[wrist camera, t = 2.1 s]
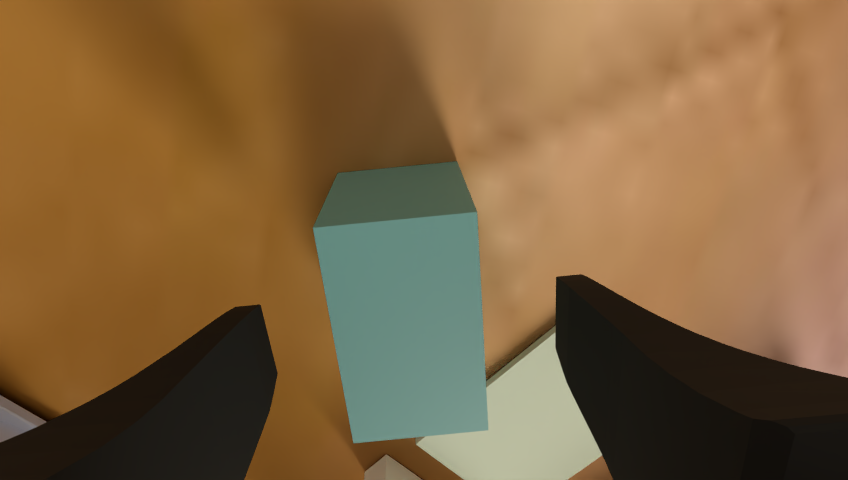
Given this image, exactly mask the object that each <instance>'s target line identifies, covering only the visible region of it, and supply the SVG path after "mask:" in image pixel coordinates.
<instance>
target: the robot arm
mask: <svg viewBox="0 0 848 480" xmlns="http://www.w3.org/2000/svg"><path fill="white" fill-rule="evenodd" d="M555 348H556V352H557V355H558V358H559V361H560V364H561V367H562V370H563V373H564V376H565V379H566V382H567V384H568V386H569V388H570V391H571V393H572V395H573V397H574V399H575V401H576V403H577V405H578V407H579V409H580V411H581V413H582V415H583V417H584V419H585V421H586V423H587V425H588V427H589V429H590V431H591V433H592V435H593V437H594V439H595V441H596V443H597V445H598V447H599V449H600V451H601V453H602V456H603V458H604V460H605V462H606V464H607V466H608V469H609V471H610V473H611V475H612V478H613V480H848V378H846V377H841V376H837V375H832V374H828V373H824V372H819V371H815V370H811V369H806V368H802V367H798V366H794V365H790V364H787V363H783V362H779V361H775V360H772V359H769V358H766V357H762V356H759V355H756V354H752V353H749V352H746V351H743V350H740V349H737V348H734V347H731V346H728V345H725V344H722V343H720V342H717V341H715V340H712V339H710V338H707V337H704V336H702V335H699V334H697V333H694V332H692V331H690V330H687V329H685V328H683V327H681V326H678V325H676V324H674V323H672V322H670V321H668V320H666V319H664V318H662V317H660V316H658V315H656V314H654V313H652V312H650V311H648V310H646V309H644V308H642V307H640V306H638V305H637V304H635V303H633V302H631V301H629V300H627V299H626V298H624V297H622V296H620V295H619V294H617V293H615V292H613V291H612V290H610V289H608V288H606V287H605V286H603V285H601V284H599V283H598V282H596V281H594V280H592V279H590V278H588V277H586V276H584V275H582V274H581V275H570V276H560V277H556V334H555ZM276 379H277V369H276V365H275V361H274V357H273V353H272V349H271V345H270V341H269V337H268V333H267V329H266V325H265V321H264V317H263V313H262V309H261V305H251V306H240V307H235V308H233V309H231V310H229V311H228V312H226V313H224V314H223V315H221V316H220V317H218V318H217V319H216V320H214V321H213V322H211V323H210V324H209V325H207V326H206V327H204V328H203V329H202V330H200V331H199V332H197V333H196V334H195V335H193V336H192V337H190V338H189V339H188V340H186V341H185V342H183V343H182V344H181V345H179V346H178V347H177V348H175V349H174V350H172V351H171V352H169V353H168V354H166V355H165V356H163V357H162V358H160V359H159V360H157V361H156V362H154V363H153V364H151V365H150V366H148V367H147V368H145V369H144V370H142V371H141V372H139V373H138V374H136V375H134V376H133V377H131V378H130V379H128V380H126V381H125V382H123V383H121V384H120V385H118V386H116V387H114V388H113V389H111V390H109V391H107V392H105V393H104V394H102V395H100V396H98V397H96V398H95V399H93V400H91V401H89V402H87V403H85V404H83V405H81V406H79V407H77V408H75V409H73V410H71V411H69V412H67V413H65V414H63V415H61V416H58V417H56V418H54V419H52V420H50V421H48V422H46V421H45V420H43V419H41V418H39V417H38V416H36V415H34V414H32V413H31V412H29V411H27V410H25V409H24V408H22V407H20V406H18V405H17V404H15V403H13V402H12V401H10V400H8V399H6V398H5V397H3V396H1V395H0V480H244V479H245V476H246V473H247V471H248V468H249V465H250V463H251V460H252V457H253V455H254V452H255V449H256V447H257V444H258V441H259V439H260V436H261V433H262V430H263V428H264V425H265V422H266V419H267V416H268V414H269V411H270V407H271V403H272V398H273V394H274V389H275V384H276Z"/></svg>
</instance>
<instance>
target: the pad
mask: <svg viewBox="0 0 848 480" xmlns="http://www.w3.org/2000/svg"><path fill="white" fill-rule="evenodd" d="M555 334H556V325H555V326H554V327H553V328H552V329H550V330H549V331H548V332H547V333H545V334H544V335H543V336H542V337H540V338H539V339H538V340H537V341H535V342H534V343H533V344H532V345H530V346H529V347H528V348H527V349H526V350H524V351H523V352H522V353H521V354H519V355H518V356H517V357H516V358H514V359H513V360H512V361H511V362H509V363H508V364H507V365H506V366H504V367H503V368H502V369H501V370H499V371H498V372H497V373H496V374H495V375H493V376H492V377H491V378H490V379H488V380H487V381H486V393H487V412H488V430H486V431H476V432H465V433H455V434H445V435H434V436H424V437H416V445H417V446H419V447H420V448H421V449H423V450H424V451H425V452H427V453H428V454H430V455H431V456H432V457H434V458H435V459H436V460H438V461H439V462H440V463H442V464H443V465H445V466H446V467H447V468H449V469H450V470H451V471H453V472H454V473H456V474H457V475H458V476H460V477H461V478H462V479H464V480H568V479H569V478H571V477H572V476H573V475H575V474H576V473H578V472H579V471H581V470H582V469H583V468H585V467H586V466H588V465H589V464H591V463H592V462H593V461H595V460H596V459H598V458H599V457H601V456H602V453H601V451H600V449H599V447H598V445H597V443H596V441H595V439H594V437H593V435H592V433H591V431H590V429H589V427H588V425H587V423H586V421H585V419H584V417H583V415H582V413H581V411H580V409H579V407H578V405H577V403H576V401H575V399H574V397H573V395H572V393H571V391H570V388H569V386H568V384H567V382H566V379H565V376H564V373H563V370H562V367H561V364H560V361H559V358H558V355H557V352H556V348H555Z"/></svg>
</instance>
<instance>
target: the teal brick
mask: <svg viewBox="0 0 848 480" xmlns="http://www.w3.org/2000/svg"><path fill="white" fill-rule="evenodd" d="M313 231H314V236H315V242H316V247H317V252H318V258H319V263H320V268H321V274H322V279H323V284H324V290H325V295H326V300H327V306H328V311H329V316H330V321H331V327H332V332H333V337H334V343H335V348H336V353H337V359H338V364H339V369H340V375H341V380H342V385H343V391H344V396H345V401H346V406H347V412H348V417H349V422H350V428H351V433H352V438H353V443H362V442H372V441H383V440H393V439H403V438H414V437H424V436H434V435H445V434H455V433H465V432H476V431H486V430H488V412H487V393H486V373H485V354H484V335H483V316H482V296H481V277H480V258H479V239H478V220H477V210H476V208H475V205H474V203H473V200H472V198H471V195H470V193H469V190H468V188H467V185H466V183H465V180H464V178H463V175H462V173H461V170H460V168H459V165H458V163H457V161H455V162H445V163H435V164H424V165H414V166H404V167H393V168H383V169H373V170H362V171H352V172H342V173H337V176H336V178H335V180H334V182H333V185H332V187H331V189H330V191H329V193H328V196H327V198H326V200H325V202H324V204H323V207H322V209H321V211H320V213H319V215H318V218H317V220H316V222H315V224H314V227H313Z"/></svg>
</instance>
